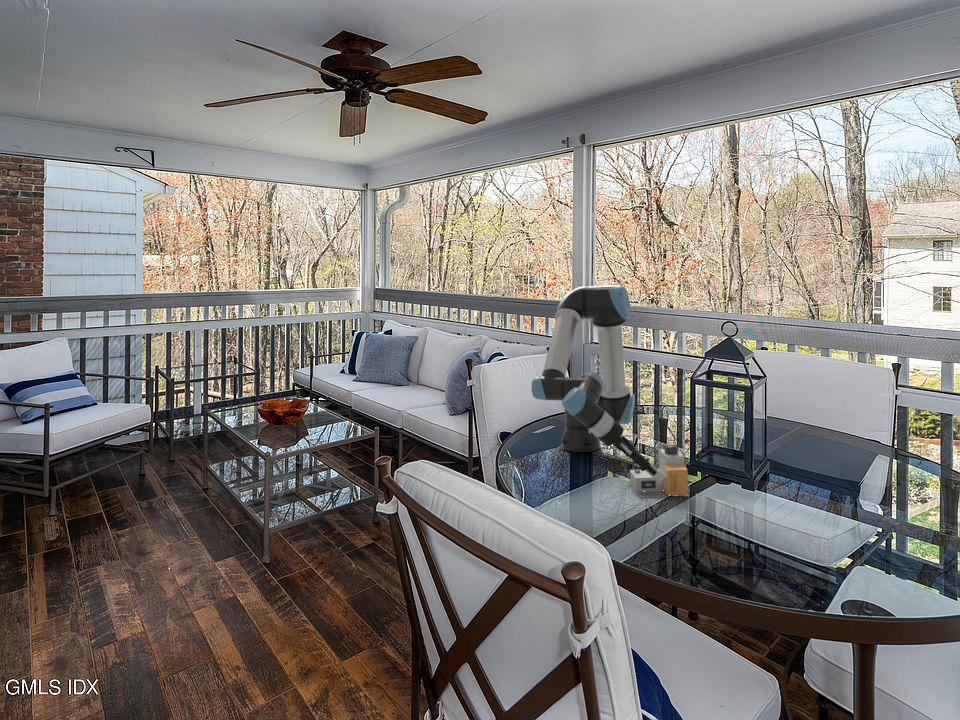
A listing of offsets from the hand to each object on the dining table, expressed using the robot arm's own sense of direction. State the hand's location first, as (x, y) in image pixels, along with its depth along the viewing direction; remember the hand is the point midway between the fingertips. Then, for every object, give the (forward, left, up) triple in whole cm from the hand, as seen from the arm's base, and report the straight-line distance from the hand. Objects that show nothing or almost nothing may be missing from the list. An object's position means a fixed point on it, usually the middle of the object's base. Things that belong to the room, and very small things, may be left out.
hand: (661, 479), depth 174 cm
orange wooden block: (-2, +3, -5) cm, 6 cm away
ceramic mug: (-23, -3, -5) cm, 24 cm away
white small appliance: (-4, -2, -5) cm, 7 cm away
